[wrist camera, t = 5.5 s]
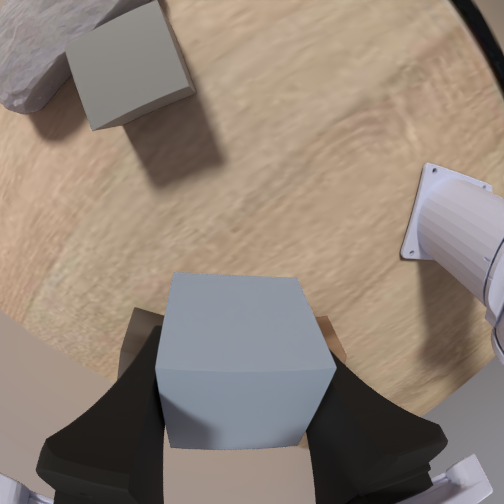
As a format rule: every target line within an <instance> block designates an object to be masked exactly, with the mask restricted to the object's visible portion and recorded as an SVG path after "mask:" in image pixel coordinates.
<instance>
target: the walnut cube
mask: <svg viewBox="0 0 504 504" xmlns="http://www.w3.org/2000/svg"><path fill="white" fill-rule="evenodd" d="M315 319H316V321H317V323H318V326H319V328H320V330H321V332H322V335H323V337H324V339H325V342H326V344H327V346H328V348H329V349H330V350H331V351H332V352H333V353H334V354H335V355H336V356H337V357H338V358H339V360H340V361H341V362H342V363H343V364H344V365H345V361H346V357H347V356H346V353H345V351H344V349H343V347H342V345H341V343H340V341H339V339H338V337H337V335H336V333H335V331H334V329H333V327H332V325H331V323H330V321H329V319H328V317H327V316H322V317H315Z"/></svg>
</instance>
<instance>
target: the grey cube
mask: <svg viewBox="0 0 504 504" xmlns="http://www.w3.org/2000/svg"><path fill="white" fill-rule="evenodd" d="M64 48H65V52H66V55H67V59H68V62H69V65H70V68H71V72H72V75H73V78H74V81H75V84H76V87H77V90H78V93H79V96H80V99H81V102H82V105H83V107H84V110H85V113H86V116H87V118H88V121H89V124H90V126H91V129H92V131H95V130H100V129H105V128H110V127H116V126H122V125H124V124H126V123H128V122H130V121H132V120H134V119H137V118H139V117H141V116H143V115H145V114H147V113H150V112H152V111H154V110H156V109H159V108H161V107H163V106H166V105H168V104H170V103H173V102H175V101H178V100H180V99H183V98H185V97H188V96H191V95H193V94H196V91H195V88H194V85H193V82H192V80H191V77H190V74H189V72H188V69H187V66H186V64H185V61H184V58H183V55H182V53H181V50H180V47H179V45H178V42H177V39H176V37H175V34H174V31H173V29H172V26H171V24H170V22H169V20H168V19H167V17H166V15H165V13H164V11H163V9H162V8H161V6H160V4H159V2H158V0H155V1H152V2H150V3H148V4H145V5H143V6H140V7H138V8H136V9H134V10H131V11H129V12H127V13H125V14H123V15H121V16H119V17H117V18H115V19H113V20H111V21H109V22H107V23H105V24H103V25H101V26H99V27H98V28H96V29H94V30H92V31H91V32H89V33H87V34H85V35H84V36H82V37H80V38H79V39H77V40H75V41H74V42H72V43H71V44H69V45H67V46H66V47H64Z"/></svg>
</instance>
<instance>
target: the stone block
mask: <svg viewBox="0 0 504 504" xmlns="http://www.w3.org/2000/svg"><path fill="white" fill-rule="evenodd" d="M150 1H151V0H8V1H7V3H6V4H5V5H4V6H3V8H2V10H1V12H0V103H1V104H3V106H4V107H5V108H7V109H8V110H11V111H13V112H17V113H20V114H28V113H32V112H37V111H40V110H41V109H42V108H44V107H45V105H46V104H47V103H48V102H49V101H50V100H51V98H52V97H53V96H54V95H55V93H56V92H57V91H58V90H59V89H60V87H61V86H62V85H63V84H64V82H65V81H66V80H67V79H68V78H69V77H70V75H71V74H72V72H71V68H70V65H69V62H68V59H67V55H66V52H65V48H64V47H66V46H67V45H69V44H71V43H72V42H74V41H75V40H77V39H79V38H80V37H82V36H84V35H85V34H87V33H89V32H91V31H92V30H94V29H96V28H98V27H99V26H101V25H103V24H105V23H107V22H109V21H111V20H113V19H115V18H117V17H119V16H121V15H123V14H125V13H127V12H129V11H131V10H134V9H136V8H138V7H140V6H143V5H145V4H148V3H149V2H150Z"/></svg>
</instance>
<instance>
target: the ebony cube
mask: <svg viewBox="0 0 504 504" xmlns="http://www.w3.org/2000/svg"><path fill="white" fill-rule="evenodd" d="M163 321H164V316H163V315H160V314H156V313H153V312H149V311H146V310H142V309H139V308H136V307H135V308H134V310H133V313H132V316H131V319H130V323H129V326H128V329H127V332H126V335H125V338H124V341H123V345H122V348H121V352H120V360H119V369H118V378H117V380H118V379H119V378H120V377H121V375H122V374H123V373H124V372H125V370H126V369H127V368H128V366H129V365H130V364H131V362H132V361H133V360H134V358H135V357H136V355H137V354H138V352H139V351H140V349H141V348H142V346H143V345H144V343H145V342H146V340H147V338H148V336H149V335H150V333H151V331H152V329H153V327H154V326H156V325H159V326H163Z"/></svg>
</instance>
